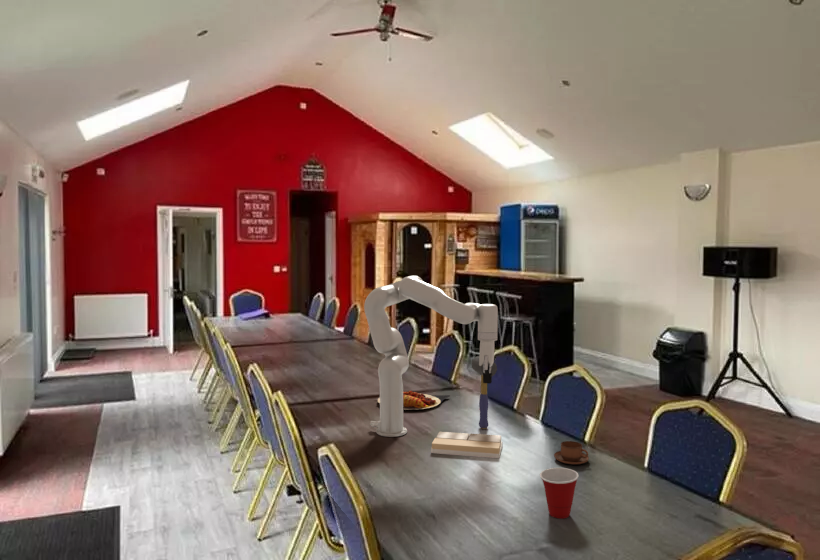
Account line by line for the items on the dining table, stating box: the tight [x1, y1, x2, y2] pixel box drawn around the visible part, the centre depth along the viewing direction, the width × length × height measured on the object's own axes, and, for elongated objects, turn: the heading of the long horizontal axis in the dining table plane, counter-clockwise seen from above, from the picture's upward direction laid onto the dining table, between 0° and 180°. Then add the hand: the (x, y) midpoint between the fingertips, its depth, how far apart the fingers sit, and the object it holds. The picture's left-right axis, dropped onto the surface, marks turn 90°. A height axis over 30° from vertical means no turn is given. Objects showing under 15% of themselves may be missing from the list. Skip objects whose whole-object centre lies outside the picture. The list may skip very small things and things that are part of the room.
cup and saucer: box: [553, 440, 590, 466], centre depth 221 cm, size 12×12×6 cm
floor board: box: [430, 437, 503, 459], centre depth 234 cm, size 25×14×4 cm, turn 77°
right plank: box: [468, 433, 502, 444], centre depth 236 cm, size 12×7×2 cm, turn 77°
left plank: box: [435, 431, 470, 440], centre depth 238 cm, size 12×7×2 cm, turn 77°
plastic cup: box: [539, 467, 579, 519], centre depth 178 cm, size 11×11×12 cm
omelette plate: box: [377, 390, 451, 411], centre depth 301 cm, size 31×35×7 cm
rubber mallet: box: [471, 355, 498, 430], centre depth 259 cm, size 12×8×30 cm, turn 16°
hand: (487, 382), depth 242 cm, fingers closed
